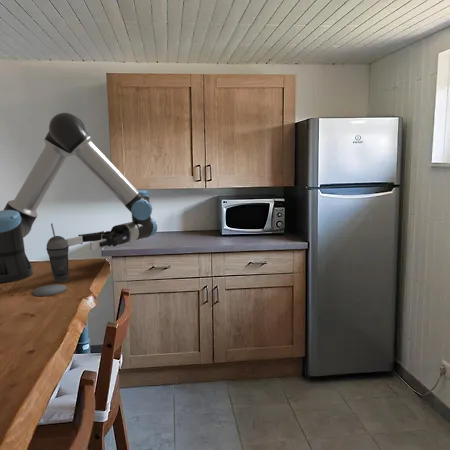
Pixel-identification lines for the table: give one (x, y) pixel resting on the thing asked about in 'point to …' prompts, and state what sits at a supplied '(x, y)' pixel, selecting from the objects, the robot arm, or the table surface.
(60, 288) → the coaster
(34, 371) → the table surface
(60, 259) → the beverage cup
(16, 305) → the table surface
